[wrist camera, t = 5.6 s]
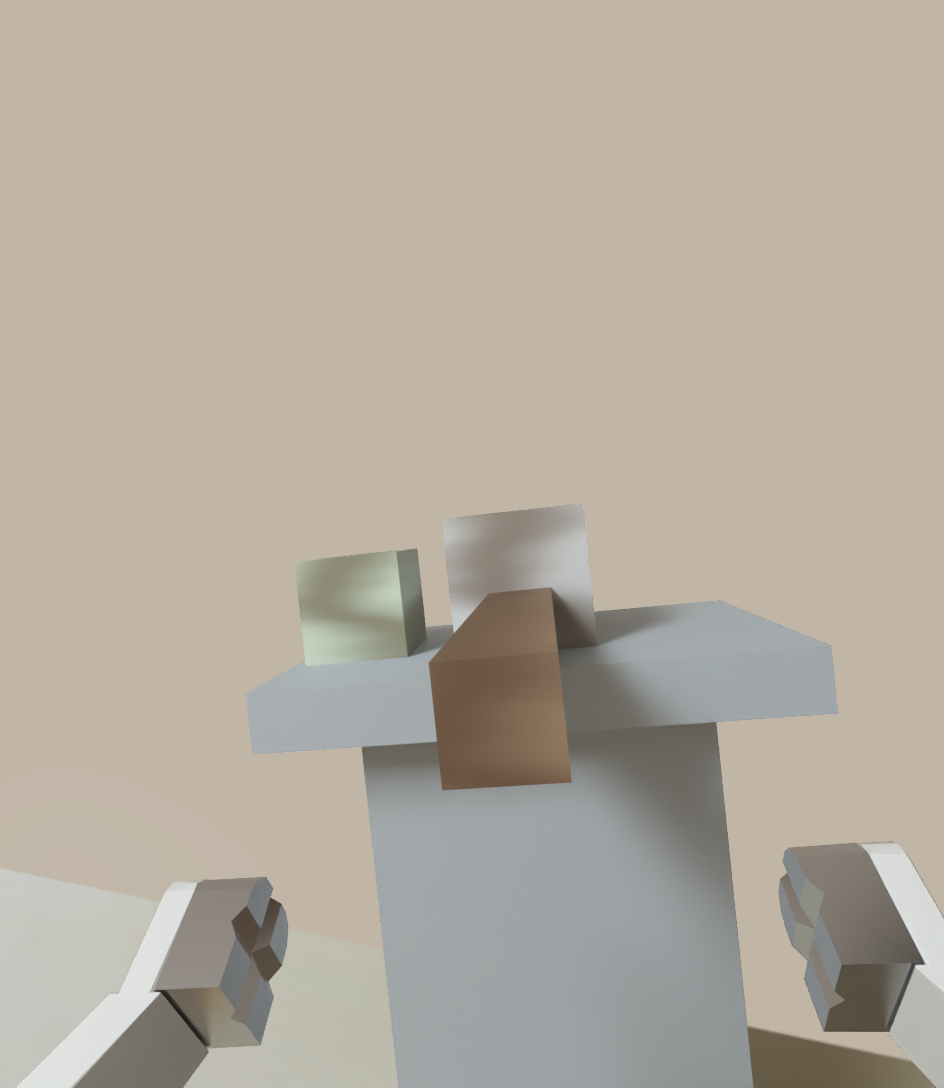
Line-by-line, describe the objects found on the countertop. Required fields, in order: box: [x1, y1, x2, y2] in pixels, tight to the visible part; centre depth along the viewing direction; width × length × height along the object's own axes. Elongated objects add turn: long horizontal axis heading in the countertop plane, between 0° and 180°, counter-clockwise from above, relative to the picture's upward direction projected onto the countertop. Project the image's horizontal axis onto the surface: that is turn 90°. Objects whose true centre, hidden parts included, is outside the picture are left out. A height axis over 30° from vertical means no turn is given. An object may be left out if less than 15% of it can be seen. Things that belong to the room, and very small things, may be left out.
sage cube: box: [295, 549, 427, 666], centre depth 27 cm, size 4×4×4 cm
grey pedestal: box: [246, 600, 838, 1088], centre depth 26 cm, size 18×12×26 cm, turn 84°
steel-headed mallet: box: [429, 504, 598, 790], centre depth 21 cm, size 5×20×5 cm, turn 174°
